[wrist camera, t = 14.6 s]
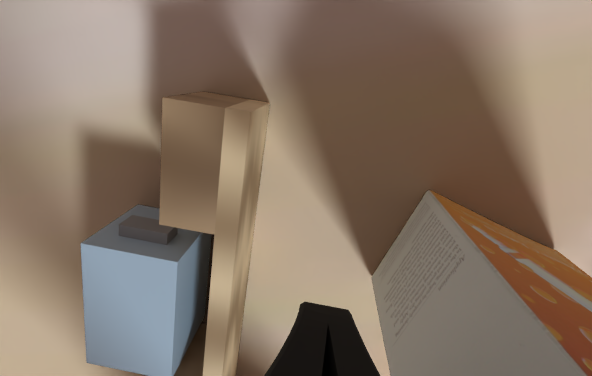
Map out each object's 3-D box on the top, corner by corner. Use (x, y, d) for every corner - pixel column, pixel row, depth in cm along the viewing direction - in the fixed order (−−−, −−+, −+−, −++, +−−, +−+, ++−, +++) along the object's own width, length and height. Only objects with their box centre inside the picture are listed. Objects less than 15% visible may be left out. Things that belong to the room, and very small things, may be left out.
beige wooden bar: (230, 414, 25) (210, 484, 20) (183, 404, 25) (153, 472, 21) (269, 102, 18) (250, 112, 13) (202, 91, 18) (162, 97, 13)
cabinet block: (204, 315, 22) (171, 380, 18) (137, 302, 22) (86, 362, 18) (214, 208, 20) (178, 250, 15) (139, 194, 20) (80, 231, 15)
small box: (558, 248, 19) (1007, 594, 6) (487, 332, 21) (720, 717, 8) (426, 184, 18) (628, 418, 6) (367, 276, 20) (424, 594, 8)
